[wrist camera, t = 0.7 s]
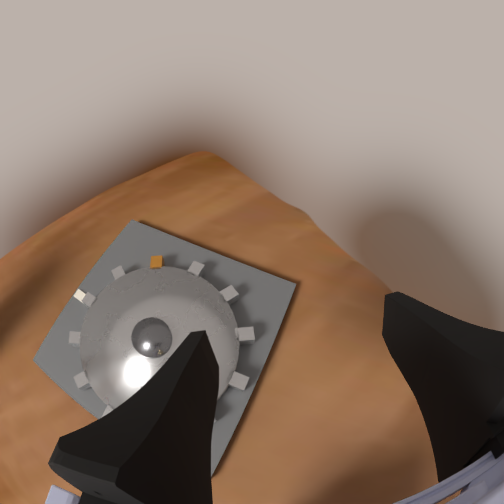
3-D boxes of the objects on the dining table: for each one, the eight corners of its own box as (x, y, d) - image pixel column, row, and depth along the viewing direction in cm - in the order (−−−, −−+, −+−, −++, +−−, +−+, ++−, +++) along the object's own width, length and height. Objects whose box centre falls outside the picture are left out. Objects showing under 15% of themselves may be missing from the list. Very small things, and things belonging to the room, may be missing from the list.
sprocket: (203, 472, 16) (197, 483, 12) (48, 368, 19) (22, 355, 15) (281, 302, 26) (290, 278, 22) (134, 240, 29) (124, 213, 25)
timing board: (209, 479, 16) (208, 482, 15) (38, 362, 20) (31, 359, 19) (294, 288, 28) (296, 283, 27) (133, 224, 32) (131, 218, 31)
